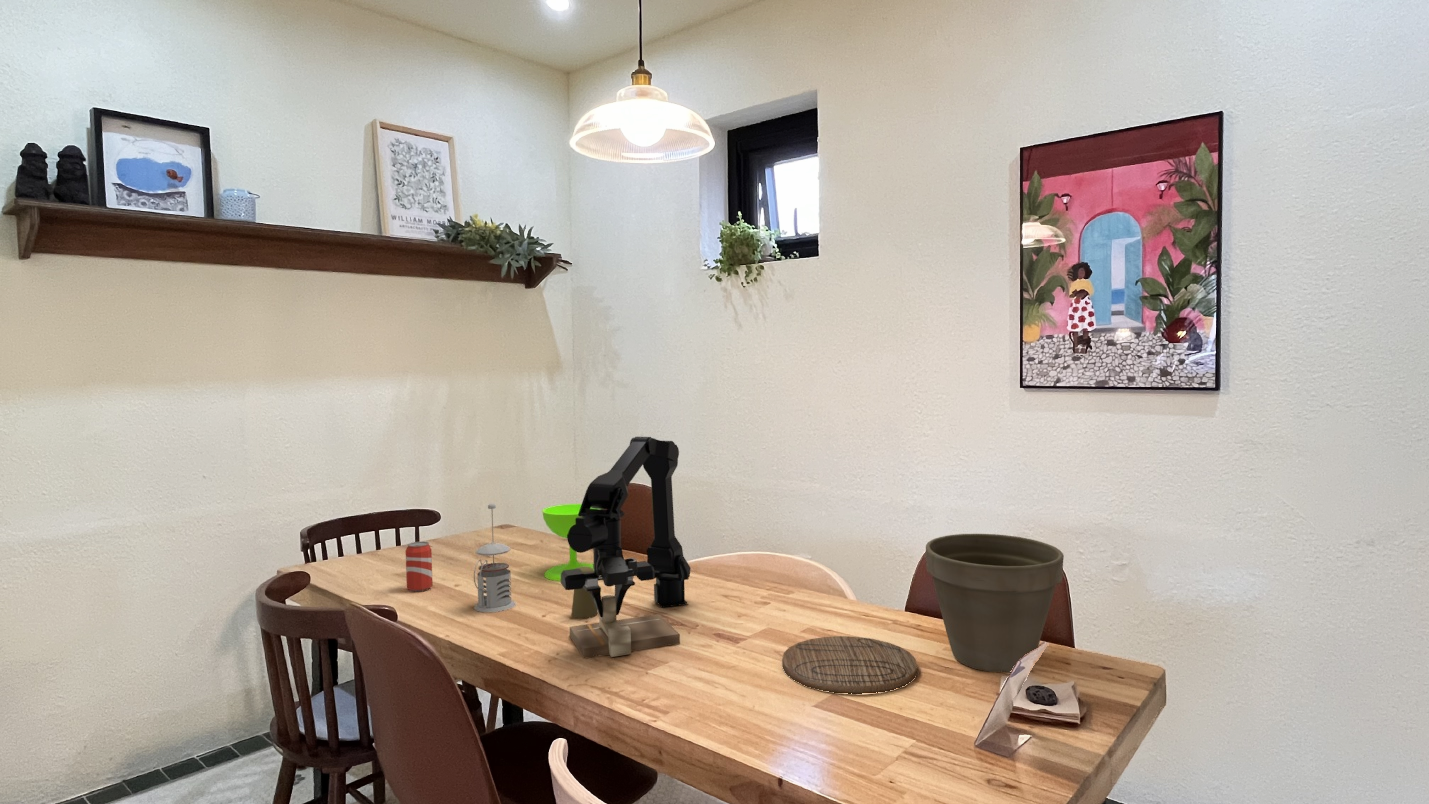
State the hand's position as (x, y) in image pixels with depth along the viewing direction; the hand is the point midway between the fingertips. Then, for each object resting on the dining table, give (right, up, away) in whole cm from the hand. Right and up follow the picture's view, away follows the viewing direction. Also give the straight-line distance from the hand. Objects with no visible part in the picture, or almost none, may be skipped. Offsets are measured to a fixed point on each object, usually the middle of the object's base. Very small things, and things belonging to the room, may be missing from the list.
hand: (609, 615), depth 164 cm
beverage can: (-55, -5, +42) cm, 69 cm away
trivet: (+47, -6, -16) cm, 50 cm away
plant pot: (+75, -5, -13) cm, 77 cm away
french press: (-31, -5, +25) cm, 41 cm away
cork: (-8, -5, +18) cm, 21 cm away
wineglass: (-17, -3, +55) cm, 57 cm away
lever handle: (+1, -5, -2) cm, 6 cm away
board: (+3, -5, +1) cm, 6 cm away
